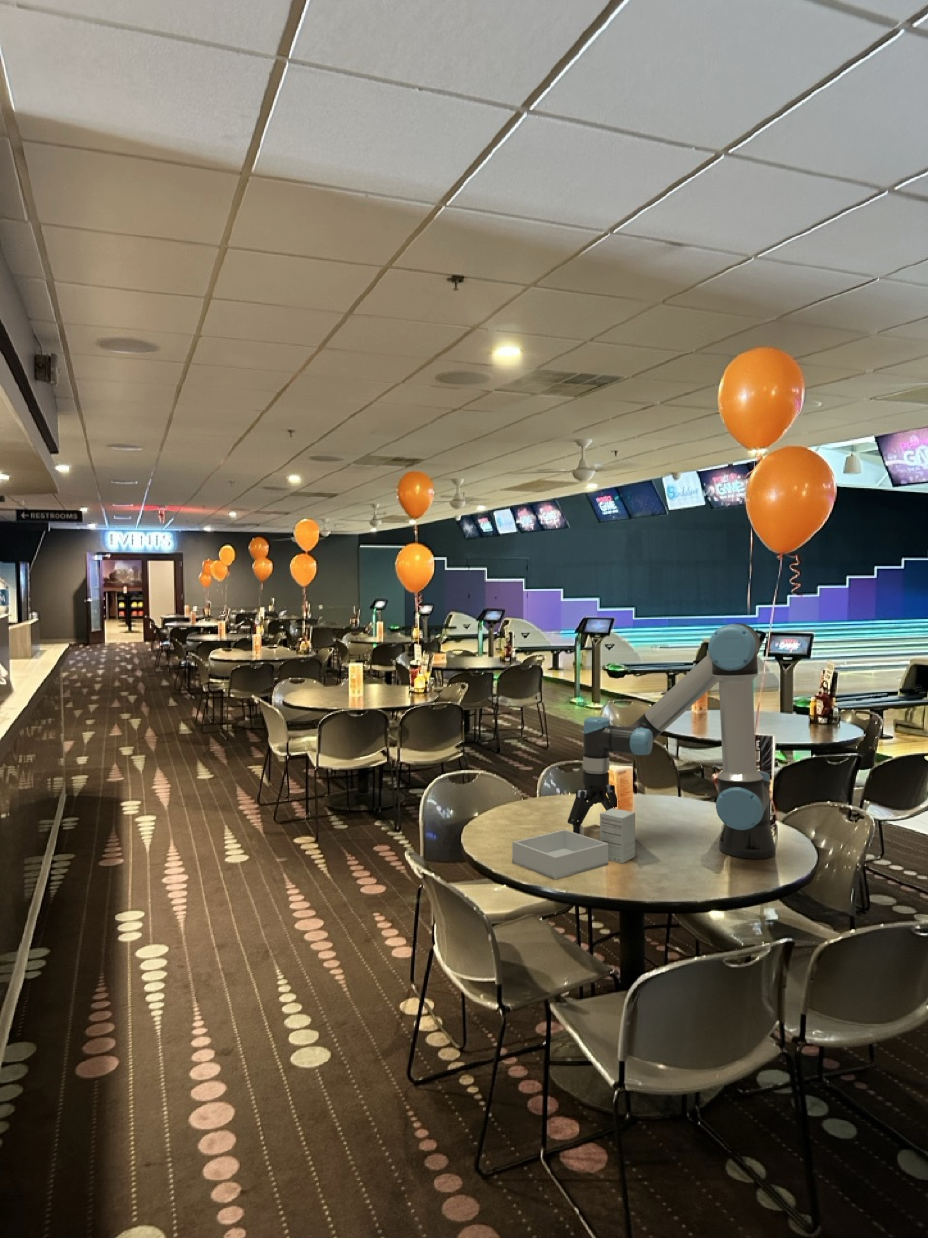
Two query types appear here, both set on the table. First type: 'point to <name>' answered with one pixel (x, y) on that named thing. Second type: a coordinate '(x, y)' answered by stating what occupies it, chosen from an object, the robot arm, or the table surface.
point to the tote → (560, 853)
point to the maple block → (592, 832)
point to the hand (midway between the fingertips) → (594, 843)
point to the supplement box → (618, 834)
